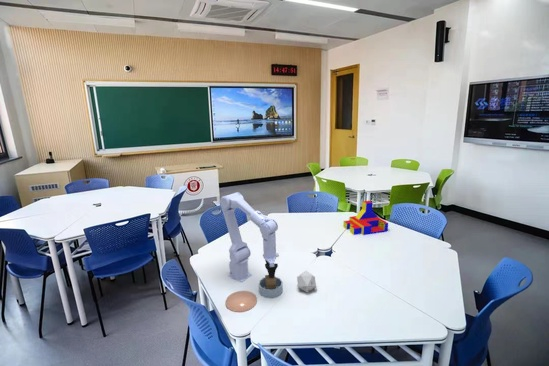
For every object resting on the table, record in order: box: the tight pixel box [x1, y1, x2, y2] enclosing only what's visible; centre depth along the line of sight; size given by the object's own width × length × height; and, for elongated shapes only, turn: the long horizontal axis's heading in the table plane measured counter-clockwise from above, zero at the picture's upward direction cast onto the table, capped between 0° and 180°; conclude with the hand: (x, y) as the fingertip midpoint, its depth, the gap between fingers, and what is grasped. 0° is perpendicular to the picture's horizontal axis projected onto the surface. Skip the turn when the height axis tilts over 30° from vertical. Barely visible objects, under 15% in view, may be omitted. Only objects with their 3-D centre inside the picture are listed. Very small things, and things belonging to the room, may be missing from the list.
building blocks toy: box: [342, 200, 389, 236], centre depth 200 cm, size 19×25×18 cm
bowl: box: [258, 276, 284, 299], centre depth 135 cm, size 11×11×4 cm
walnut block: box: [264, 274, 276, 290], centre depth 134 cm, size 4×4×7 cm
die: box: [296, 270, 317, 293], centre depth 135 cm, size 8×9×10 cm
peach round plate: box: [225, 290, 258, 313], centre depth 128 cm, size 14×14×1 cm
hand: (270, 273), depth 133 cm, fingers open, 7 cm apart
